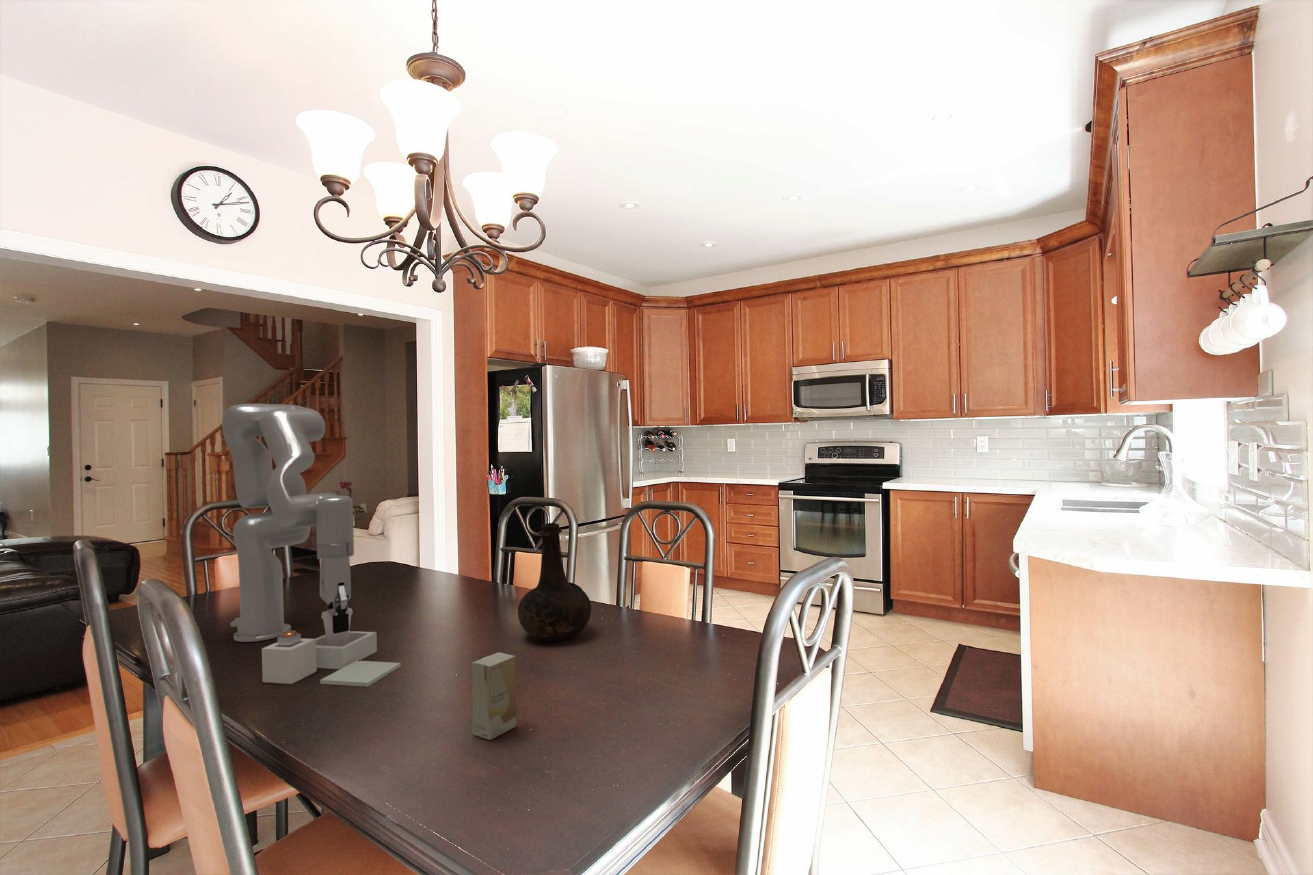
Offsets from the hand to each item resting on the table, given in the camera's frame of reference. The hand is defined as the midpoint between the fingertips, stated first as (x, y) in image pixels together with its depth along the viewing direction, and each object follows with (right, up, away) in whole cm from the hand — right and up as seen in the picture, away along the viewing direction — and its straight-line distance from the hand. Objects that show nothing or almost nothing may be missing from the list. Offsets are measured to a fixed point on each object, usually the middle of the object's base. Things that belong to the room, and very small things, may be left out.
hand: (337, 627), depth 143 cm
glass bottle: (+48, -6, +13) cm, 50 cm away
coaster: (+10, -7, -10) cm, 16 cm away
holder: (0, -7, 0) cm, 7 cm away
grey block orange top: (-5, -5, -10) cm, 12 cm away
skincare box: (+46, -6, -37) cm, 59 cm away
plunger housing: (-5, -7, -10) cm, 13 cm away
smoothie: (0, -6, 0) cm, 6 cm away
